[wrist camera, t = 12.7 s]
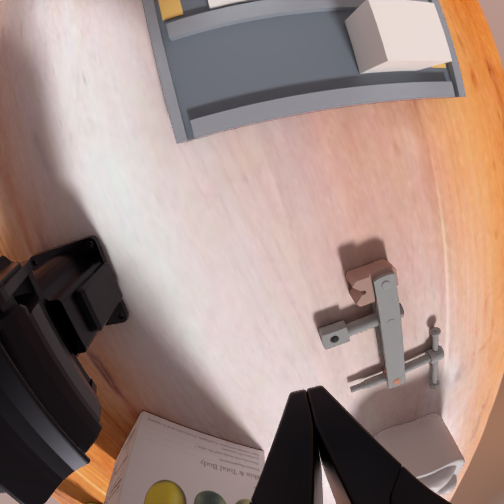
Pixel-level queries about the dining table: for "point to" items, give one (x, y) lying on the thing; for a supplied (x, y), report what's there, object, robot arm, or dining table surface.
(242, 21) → the grey tray
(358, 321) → the clamp
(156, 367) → the dining table surface
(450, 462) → the lumpy-topped squat cylinder
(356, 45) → the white block
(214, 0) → the beige block
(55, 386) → the robot arm
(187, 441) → the supplement box
